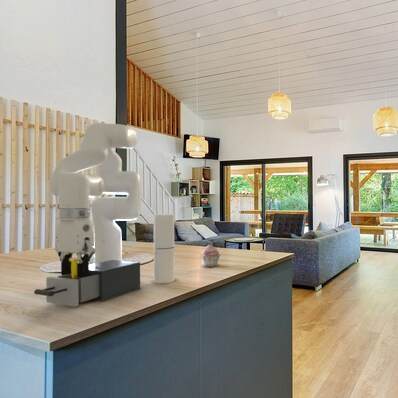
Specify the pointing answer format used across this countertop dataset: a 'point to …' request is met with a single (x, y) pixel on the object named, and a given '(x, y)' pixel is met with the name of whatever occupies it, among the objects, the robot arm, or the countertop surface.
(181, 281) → the countertop surface
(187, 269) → the countertop surface
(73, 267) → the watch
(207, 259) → the cupcake
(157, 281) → the cylindrical container
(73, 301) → the drawer
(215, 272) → the countertop surface
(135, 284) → the cabinet
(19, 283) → the countertop surface
